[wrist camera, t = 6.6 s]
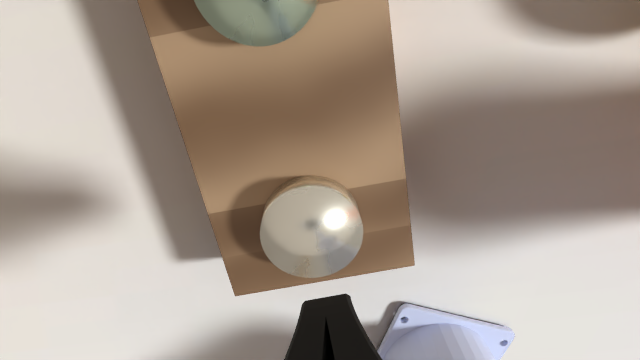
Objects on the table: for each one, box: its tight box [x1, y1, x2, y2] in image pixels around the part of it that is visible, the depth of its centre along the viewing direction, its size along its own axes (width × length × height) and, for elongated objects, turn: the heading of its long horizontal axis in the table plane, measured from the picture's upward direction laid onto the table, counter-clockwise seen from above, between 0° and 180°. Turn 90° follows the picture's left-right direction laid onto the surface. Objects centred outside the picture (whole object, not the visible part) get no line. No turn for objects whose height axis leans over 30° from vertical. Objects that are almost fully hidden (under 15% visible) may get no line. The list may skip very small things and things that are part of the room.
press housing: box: [137, 0, 415, 296], centre depth 18 cm, size 17×9×4 cm, turn 10°
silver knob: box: [260, 175, 363, 278], centre depth 19 cm, size 4×4×4 cm
